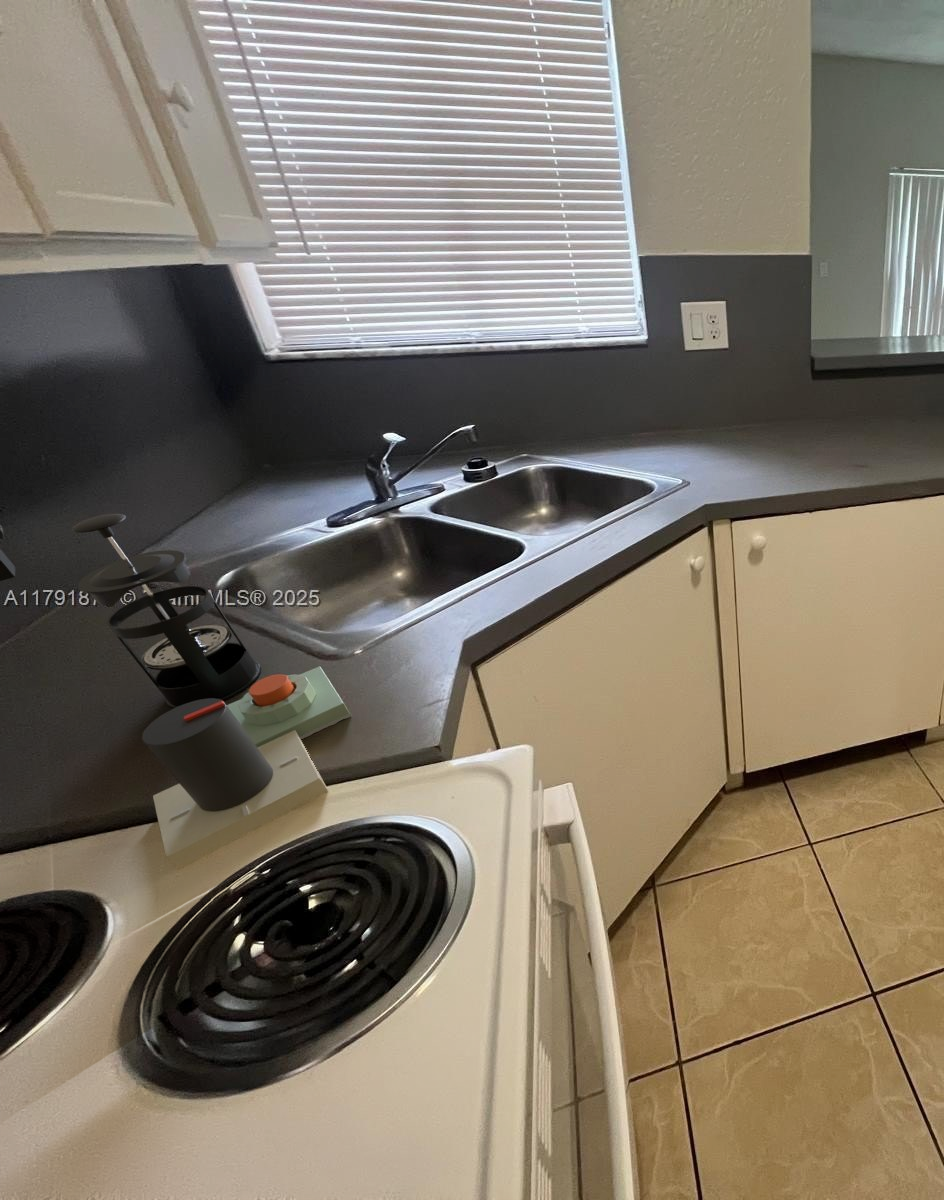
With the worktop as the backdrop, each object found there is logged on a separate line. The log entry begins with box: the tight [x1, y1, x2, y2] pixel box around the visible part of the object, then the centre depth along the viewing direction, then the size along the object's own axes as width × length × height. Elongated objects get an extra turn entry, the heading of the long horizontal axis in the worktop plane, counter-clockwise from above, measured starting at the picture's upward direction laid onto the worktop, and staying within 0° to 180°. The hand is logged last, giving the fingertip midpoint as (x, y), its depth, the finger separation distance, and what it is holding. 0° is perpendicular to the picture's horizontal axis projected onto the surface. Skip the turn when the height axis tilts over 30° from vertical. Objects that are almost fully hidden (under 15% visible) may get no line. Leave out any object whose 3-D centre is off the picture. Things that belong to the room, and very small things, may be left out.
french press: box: [71, 513, 262, 710], centre depth 72 cm, size 12×9×23 cm
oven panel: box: [152, 730, 329, 871], centre depth 63 cm, size 10×12×2 cm
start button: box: [248, 673, 295, 707], centre depth 71 cm, size 4×4×2 cm
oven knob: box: [141, 698, 273, 811], centre depth 60 cm, size 6×6×9 cm
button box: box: [226, 665, 351, 747], centre depth 72 cm, size 10×10×4 cm
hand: (3, 574), depth 58 cm, fingers closed
